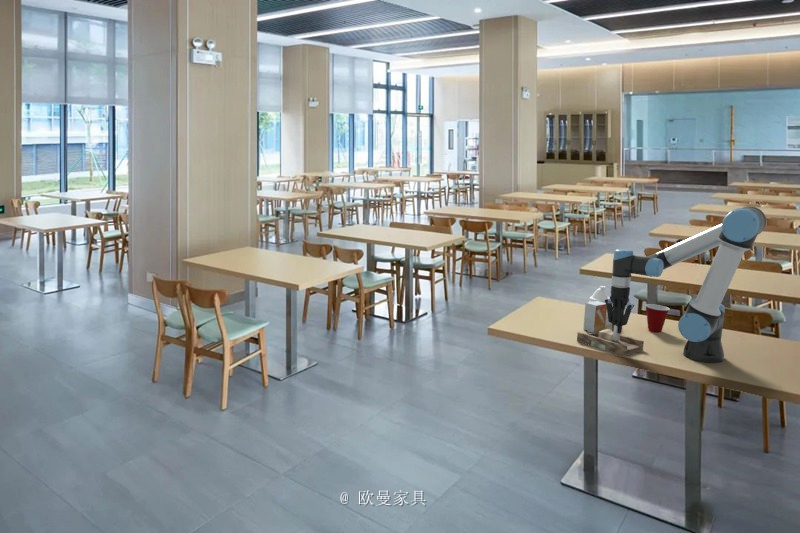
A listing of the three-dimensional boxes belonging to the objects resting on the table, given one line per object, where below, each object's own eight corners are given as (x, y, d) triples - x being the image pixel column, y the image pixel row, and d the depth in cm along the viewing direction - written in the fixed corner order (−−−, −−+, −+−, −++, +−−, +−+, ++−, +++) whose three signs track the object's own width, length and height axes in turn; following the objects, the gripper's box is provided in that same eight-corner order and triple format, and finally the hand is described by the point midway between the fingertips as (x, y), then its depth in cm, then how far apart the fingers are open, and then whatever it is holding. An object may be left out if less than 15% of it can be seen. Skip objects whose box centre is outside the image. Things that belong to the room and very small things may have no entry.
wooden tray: (642, 350, 270) (643, 341, 269) (624, 356, 262) (625, 346, 261) (595, 336, 288) (595, 327, 288) (576, 341, 281) (577, 332, 280)
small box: (593, 333, 293) (596, 305, 290) (582, 329, 298) (584, 302, 295) (605, 330, 297) (607, 303, 295) (594, 327, 302) (596, 300, 300)
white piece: (616, 325, 307) (619, 288, 303) (591, 325, 305) (594, 288, 301) (604, 317, 319) (607, 282, 316) (580, 318, 317) (582, 282, 314)
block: (618, 341, 275) (619, 332, 274) (610, 343, 271) (611, 334, 270) (606, 337, 279) (607, 329, 279) (598, 340, 276) (599, 331, 275)
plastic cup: (673, 333, 295) (675, 307, 293) (654, 335, 291) (657, 309, 289) (655, 326, 305) (658, 302, 302) (637, 328, 301) (640, 304, 298)
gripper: (639, 287, 265) (634, 342, 269) (612, 281, 275) (608, 334, 279) (629, 289, 260) (624, 345, 265) (602, 284, 270) (597, 337, 275)
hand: (616, 339), depth 272 cm, fingers closed
